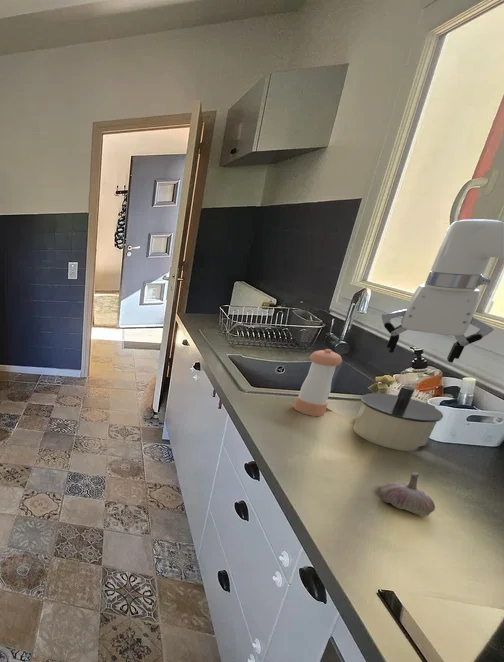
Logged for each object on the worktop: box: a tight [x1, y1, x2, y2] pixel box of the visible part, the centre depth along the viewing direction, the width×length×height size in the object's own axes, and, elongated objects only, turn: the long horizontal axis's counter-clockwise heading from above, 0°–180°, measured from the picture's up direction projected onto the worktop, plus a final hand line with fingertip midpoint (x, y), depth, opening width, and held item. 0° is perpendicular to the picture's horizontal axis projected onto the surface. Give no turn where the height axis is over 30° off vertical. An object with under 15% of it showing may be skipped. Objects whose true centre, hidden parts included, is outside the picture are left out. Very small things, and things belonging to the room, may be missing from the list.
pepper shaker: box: [293, 348, 343, 417], centre depth 110 cm, size 7×7×19 cm
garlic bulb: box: [378, 471, 436, 517], centre depth 75 cm, size 8×7×8 cm
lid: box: [360, 385, 444, 423], centre depth 96 cm, size 15×15×6 cm
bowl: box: [352, 402, 437, 452], centre depth 98 cm, size 14×14×8 cm
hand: (419, 355), depth 89 cm, fingers open, 9 cm apart
